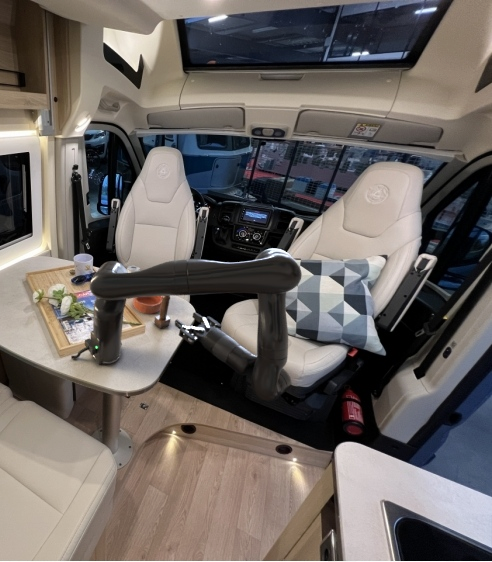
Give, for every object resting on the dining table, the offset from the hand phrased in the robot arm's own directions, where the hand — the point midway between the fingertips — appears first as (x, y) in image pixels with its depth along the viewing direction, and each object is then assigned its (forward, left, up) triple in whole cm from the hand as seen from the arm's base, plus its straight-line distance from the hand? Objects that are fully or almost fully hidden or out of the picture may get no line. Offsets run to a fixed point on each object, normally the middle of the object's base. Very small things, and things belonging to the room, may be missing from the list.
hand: (184, 318), depth 101 cm
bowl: (+3, +23, -10) cm, 26 cm away
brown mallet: (0, +10, -10) cm, 14 cm away
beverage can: (+4, +36, -10) cm, 38 cm away
